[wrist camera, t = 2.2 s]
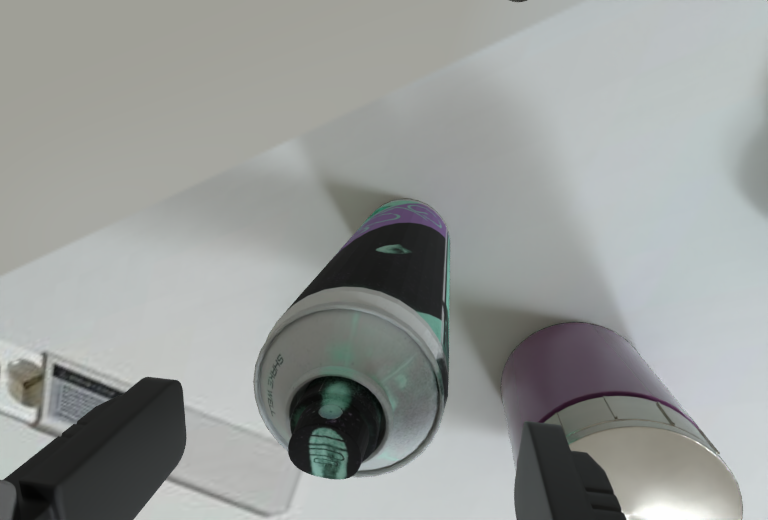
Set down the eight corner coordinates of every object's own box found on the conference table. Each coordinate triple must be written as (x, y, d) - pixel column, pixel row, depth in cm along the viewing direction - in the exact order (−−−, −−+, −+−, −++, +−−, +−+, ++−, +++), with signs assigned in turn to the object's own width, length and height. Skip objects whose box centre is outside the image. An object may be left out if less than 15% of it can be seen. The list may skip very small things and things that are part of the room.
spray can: (426, 182, 29) (375, 302, 9) (464, 262, 30) (489, 516, 10) (347, 222, 30) (162, 395, 11) (386, 297, 31) (281, 577, 12)
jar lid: (531, 384, 22) (540, 414, 20) (734, 406, 21) (768, 440, 19) (509, 535, 25) (515, 577, 22) (690, 561, 24) (715, 608, 21)
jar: (509, 315, 30) (536, 404, 21) (660, 329, 29) (762, 430, 20) (493, 437, 33) (511, 567, 23) (632, 454, 32) (710, 597, 22)
